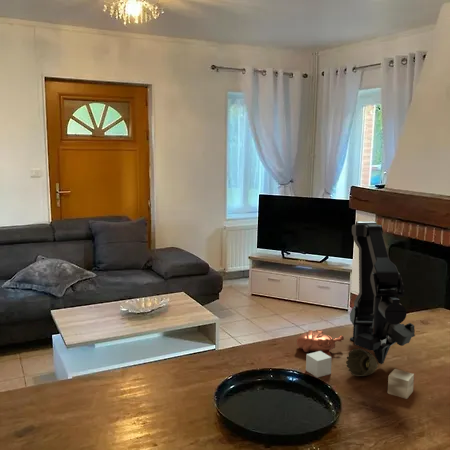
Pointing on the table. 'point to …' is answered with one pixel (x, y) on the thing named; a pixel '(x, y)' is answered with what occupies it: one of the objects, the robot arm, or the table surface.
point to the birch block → (400, 383)
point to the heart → (317, 341)
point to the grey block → (318, 364)
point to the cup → (361, 362)
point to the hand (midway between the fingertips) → (380, 363)
